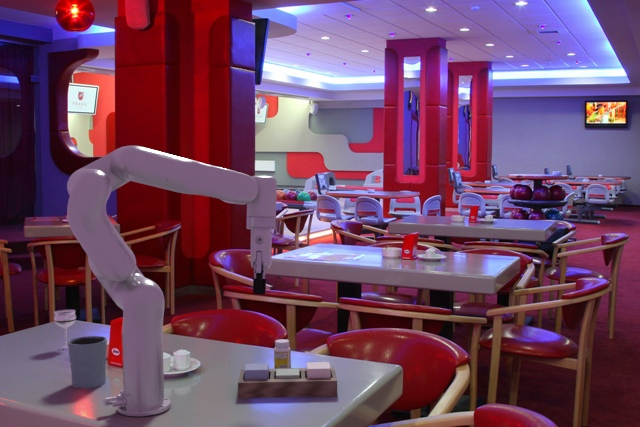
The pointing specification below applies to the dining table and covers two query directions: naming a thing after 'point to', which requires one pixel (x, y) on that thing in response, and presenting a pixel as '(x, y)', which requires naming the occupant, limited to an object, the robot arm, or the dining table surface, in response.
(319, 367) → the cream key
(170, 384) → the dining table surface
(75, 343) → the grey blue cup
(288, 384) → the console
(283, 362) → the supplement bottle
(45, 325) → the dining table surface
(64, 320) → the wineglass
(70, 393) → the dining table surface
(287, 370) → the sage key
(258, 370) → the slate key
